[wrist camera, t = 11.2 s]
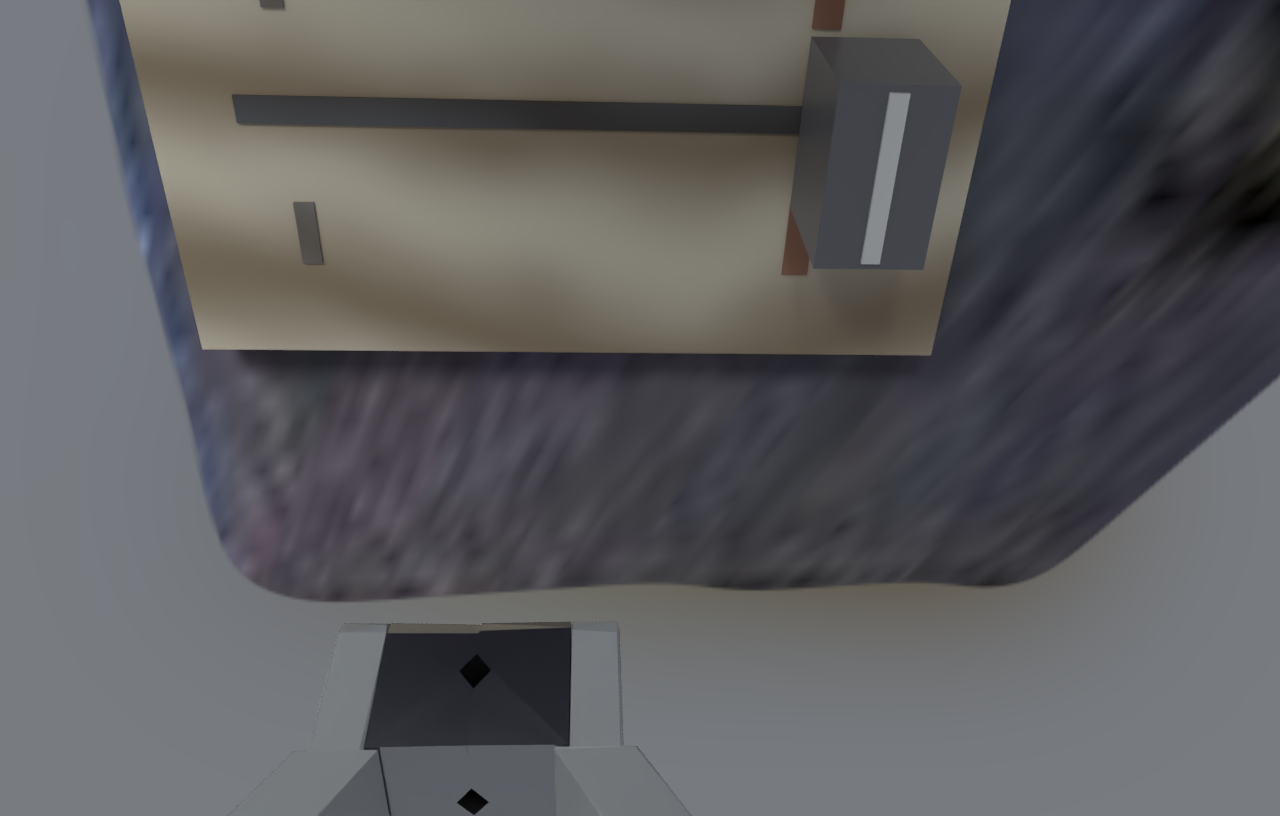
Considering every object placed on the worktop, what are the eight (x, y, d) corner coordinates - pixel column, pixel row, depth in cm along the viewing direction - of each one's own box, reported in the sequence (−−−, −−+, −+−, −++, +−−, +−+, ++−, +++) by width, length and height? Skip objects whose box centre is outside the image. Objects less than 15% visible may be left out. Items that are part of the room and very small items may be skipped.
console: (98, -231, 27) (63, -225, 25) (1026, -198, 28) (1055, -190, 26) (220, 318, 36) (201, 350, 34) (915, 324, 37) (931, 356, 35)
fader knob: (811, 36, 29) (840, 84, 25) (919, 39, 29) (962, 86, 26) (789, 206, 32) (814, 270, 28) (888, 208, 32) (924, 271, 28)
